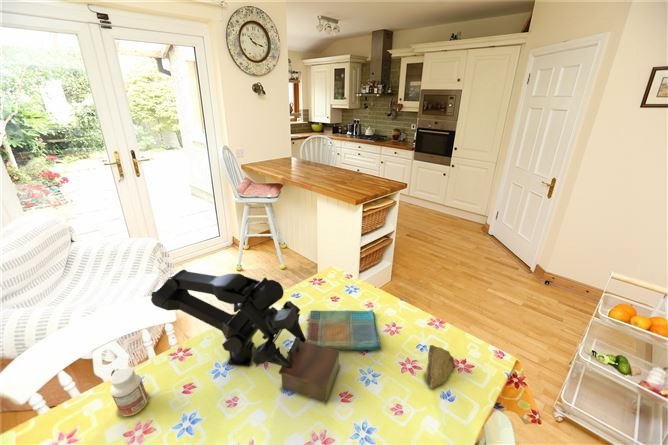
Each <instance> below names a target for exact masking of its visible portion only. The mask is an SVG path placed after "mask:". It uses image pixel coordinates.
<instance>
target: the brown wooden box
mask: <svg viewBox="0 0 668 445" xmlns="http://www.w3.org/2000/svg"><path fill="white" fill-rule="evenodd" d="M339 368H340V354H339V355H338V358H337V361H336V363H335V366H334V369H333V371H332V374H331V377H330V380H329V382H328V385H327V388H324V387H320V386H317V385H314V384H311V383H307V382H304V381H301V380H297V379H294V378H291V377H288V376H284V375H281V374H280V376H281V386H282V389H283V390H286V391H289V392H292V393H295V394H299V395H302V396H305V397H307V398H312V399H314V400H317V401H321V402H324V403H327V401H328V400H329V396H330V393H331V390H332V387H333V384H334V382H335V380H336V379H335V378H336V376H337V373H338V370H339Z"/></svg>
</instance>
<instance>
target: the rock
mask: <svg viewBox="0 0 668 445" xmlns="http://www.w3.org/2000/svg"><path fill="white" fill-rule="evenodd" d="M455 369H456V363H455V358H454V356H452V355H451V353H450V351H448V350H446V349H444V348H442V347H440V346H436V345H434V344H429V348H428V353H427V365H426V369H425V377H426V381H427V384H428V386H429V387H430V389H432V390H433V389H435V387H437V386H439V385H442V384H443V383H445V381H446V380H447V379H448V377H449V376H450V374H451V372H453V371H455Z"/></svg>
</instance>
